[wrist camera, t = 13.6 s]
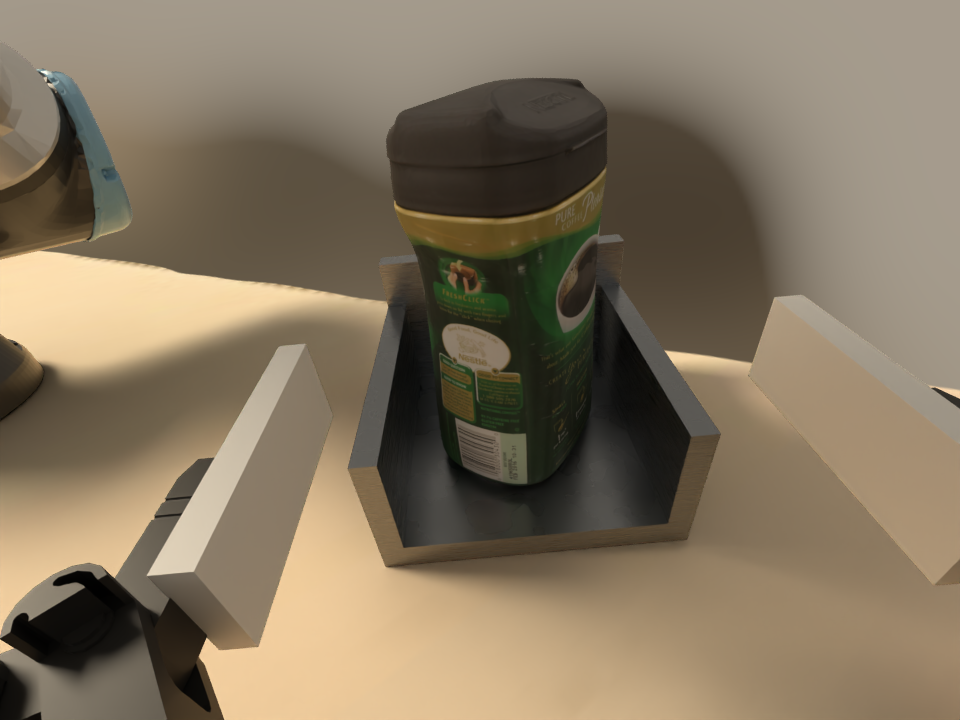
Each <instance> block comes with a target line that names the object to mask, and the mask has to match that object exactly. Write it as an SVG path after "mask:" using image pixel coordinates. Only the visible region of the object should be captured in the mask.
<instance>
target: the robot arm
mask: <svg viewBox="0 0 960 720" xmlns="http://www.w3.org/2000/svg"><path fill="white" fill-rule="evenodd" d="M131 220H132V209H131V205H130V202H129V199H128V196H127V194H126V191H125V188H124V186H123V183H122V181H121V179H120V176H119V174H118V172H117V171H116V170H115V165H114V162H113V160H112V157H111V154H110V152H109V150H108V147H107V145H106V143H105V140H104V138H103V136H102V134H101V132H100V129H99V127H98V125H97V123H96V121H95V119H94V117H93V115H92V113H91V110H90V108H89V106H88V104H87V102H86V100H85V98H84V96H83V95H82V93H81V91H80V89H79V88H78V86H77V84H76V83H75V82H74V81H73V79H72V78H70V77H69V76H67V75H65V74H64V73H61V72H49V71H47V70H44V69H42V70H40V69H35V68H34V67H33V66H32V65H31V63H30V62H29V61H28V60H26V59H25V58H24V57H23V56H22V55H21V54H19V53H18V52H17V51H16V50H14V49H12V48H11V47H9V46H8V45H6V44H5V43H3V42H2V41H0V260H1V259H5V258H9V257H14V256H18V255H22V254H27V253H31V252H35V251H40V250H44V249H48V248H53V247H57V246H61V245H65V244H70V243H74V242H79V241H83V242H90V241H94V240H95V239H97V238H98V237H99V236H103V235H106V234H109V233H113V232H116V231H120V230H123V229H124V228H126V227H127V226H128V225H129V224H130V222H131ZM43 374H44V372H43V368H42V366H41V365H40V364H39V363H38V362H37V360H36V359H35V358H34V357H33V356H32V354H31V353H30V352H29V351H28V350H27V349H26V348H25V347H24V346H22V345H21V344H19V343H17V342H15V341H13V340H9V339H6V338H5V337H4V336H2V335H1V334H0V419H1V418H3V417H4V416H5V415H7V414H8V413H10V412H11V411H12V410H14V409H15V408H16V407H18V406H19V405H20V404H21V403H22V402H24V401H25V400H26V399H27V398H28V397H29V396H30V395H31V394H32V393H33V392H34V391H35V389H36V388H37V387H38V385H39V384H40V382H41V380H42V378H43ZM748 376H749V377H750V378H751V379H752V381H753V382H754V383H755V384H756V385H757V386H758V387H759V388H760V390H761V391H762V392H763V393H764V394H765V395H766V396H767V398H768V399H769V400H770V401H771V402H772V403H773V404H774V405H775V407H776V408H777V409H778V410H779V411H780V412H781V413H782V415H783V416H784V417H785V418H786V419H787V420H788V421H789V422H790V424H791V425H792V426H793V427H794V428H795V429H796V430H797V432H798V433H799V434H800V435H801V436H802V437H803V438H804V439H805V441H806V442H807V443H808V444H809V445H810V446H811V447H812V449H813V450H814V451H815V452H816V453H817V454H818V455H819V456H820V458H821V459H822V460H823V461H824V462H825V463H826V464H827V466H828V467H829V468H830V469H831V470H832V471H833V472H834V473H835V475H836V476H837V477H838V478H839V479H840V480H841V481H842V483H843V484H844V485H845V486H846V487H847V488H848V489H849V490H850V492H851V493H852V494H853V495H854V496H855V497H856V498H857V500H858V501H859V502H860V503H861V504H862V505H863V506H864V507H865V509H866V510H867V511H868V512H869V513H870V514H871V515H872V517H873V518H874V519H875V520H876V521H877V522H878V523H879V524H880V526H881V527H882V528H883V529H884V530H885V531H886V532H887V534H888V535H889V536H890V537H891V538H892V539H893V540H894V541H895V543H896V544H897V545H898V546H899V547H900V548H901V549H902V550H903V552H904V553H905V554H906V555H907V556H908V557H909V558H910V560H911V561H912V562H913V563H914V564H915V565H916V566H917V567H918V569H919V570H920V571H921V572H922V573H923V574H924V575H925V577H926V578H927V579H928V580H929V581H930V582H931V583H932V584H933V586H936V585H947V584H958V583H960V399H959V398H957V397H954V396H952V395H950V394H948V393H946V392H944V391H941V390H939V389H937V388H930V387H929V386H928V385H926V384H925V383H923V382H922V381H921V380H919V379H918V378H916V377H915V376H914V375H912V374H911V373H910V372H908V371H907V370H905V369H904V368H903V367H901V366H900V365H899V364H897V363H896V362H894V361H893V360H892V359H890V358H889V357H887V356H886V355H885V354H883V353H882V352H881V351H879V350H878V349H876V348H875V347H874V346H872V345H871V344H869V343H868V342H867V341H865V340H864V339H863V338H861V337H860V336H858V335H857V334H856V333H854V332H853V331H852V330H850V329H849V328H847V327H846V326H845V325H843V324H842V323H840V322H839V321H838V320H836V319H835V318H834V317H832V316H831V315H830V314H828V313H827V312H825V311H824V310H822V309H821V308H820V307H818V306H817V305H816V304H814V303H813V302H812V301H810V300H809V299H807V298H806V297H804V296H803V295H795V296H785V297H775V298H774V301H773V304H772V307H771V310H770V313H769V316H768V319H767V322H766V325H765V328H764V331H763V333H762V337H761V339H760V342H759V346H758V349H757V351H756V354H755V357H754V360H753V363H752V366H751V369H750V372H749V375H748ZM332 418H333V414H332V411H331V408H330V406H329V403H328V401H327V398H326V395H325V393H324V390H323V387H322V385H321V382H320V379H319V377H318V374H317V371H316V369H315V366H314V363H313V361H312V358H311V355H310V353H309V350H308V347H307V345H306V344H295V345H285V346H279V347H278V349H277V351H276V352H275V354H274V356H273V357H272V359H271V361H270V363H269V364H268V366H267V368H266V370H265V371H264V373H263V375H262V377H261V378H260V380H259V382H258V383H257V385H256V387H255V389H254V390H253V392H252V394H251V396H250V397H249V399H248V401H247V403H246V404H245V406H244V408H243V409H242V411H241V413H240V415H239V416H238V418H237V420H236V422H235V423H234V425H233V427H232V429H231V430H230V432H229V434H228V435H227V437H226V439H225V441H224V442H223V444H222V446H221V448H220V449H219V451H218V453H217V455H216V456H215V458H205V459H198V460H197V461H196V462H195V463H194V464H193V465H192V466H191V467H189V468H188V469H187V470H186V471H185V472H184V473H183V474H182V475H181V476H180V477H179V478H178V479H177V481H176V482H175V484H174V485H173V487H172V489H171V490H170V492H169V493H168V495H167V497H166V498H165V499H166V501H165V502H164V503H162V504H161V506H160V508H159V509H158V511H157V512H156V514H155V515H154V516H155V519H154V520H151V522H150V523H149V525H148V526H147V528H146V530H145V531H144V533H143V534H142V536H141V538H140V539H139V541H138V542H137V544H136V545H135V547H134V549H133V550H132V552H131V553H130V555H129V556H128V558H127V560H126V561H125V563H124V564H123V566H122V568H121V569H120V571H119V572H118V574H117V575H116V577H115V578H113V577H112V576H111V575H110V574H109V573H108V572H107V571H106V570H105V569H104V568H103V567H102V566H100V565H96V564H91V563H86V564H80V565H75V566H71V567H69V568H67V569H64V570H62V571H60V572H58V573H55V574H53V575H52V576H50V577H49V578H47V579H46V580H44V581H43V582H41V583H40V584H38V585H37V586H36V587H34V588H33V589H32V590H31V591H30V592H29V593H28V594H27V595H26V596H25V597H23V598H22V599H21V600H20V601H19V602H18V603H17V604H16V605H15V607H14V608H13V610H12V611H11V613H10V614H9V616H8V617H7V619H6V620H5V622H4V624H3V627H2V631H1V635H0V639H1V640H2V641H4V642H5V643H7V644H9V645H10V646H12V647H13V648H14V649H12V650H9V651H6V652H4V653H1V654H0V720H224V718H223V715H222V712H221V709H220V707H219V704H218V701H217V698H216V696H215V693H214V690H213V687H212V684H211V682H210V679H209V676H208V673H207V671H206V668H205V665H204V663H203V662H202V661H201V660H200V658H199V654H200V652H201V649H202V647H203V645H204V642H205V640H206V637H207V638H208V639H209V640H210V641H211V642H212V643H213V644H214V645H215V646H216V647H217V648H218V649H219V650H228V649H239V648H250V647H258V646H259V643H260V640H261V637H262V634H263V631H264V628H265V625H266V622H267V618H268V615H269V612H270V609H271V606H272V603H273V600H274V597H275V594H276V591H277V588H278V585H279V581H280V578H281V575H282V572H283V569H284V566H285V563H286V560H287V557H288V554H289V551H290V548H291V544H292V541H293V538H294V535H295V532H296V529H297V526H298V523H299V520H300V517H301V514H302V511H303V507H304V504H305V501H306V498H307V495H308V492H309V489H310V486H311V483H312V480H313V477H314V474H315V470H316V467H317V464H318V461H319V458H320V455H321V452H322V449H323V446H324V443H325V440H326V437H327V433H328V430H329V427H330V424H331V421H332Z"/></svg>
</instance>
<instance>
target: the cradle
mask: <svg viewBox="0 0 960 720" xmlns="http://www.w3.org/2000/svg"><path fill="white" fill-rule="evenodd" d="M623 248H624V240H623V239H622V238H621V237H620V236H619V235H618V234H617V235H607V236H599V238H598V250H597V266H596V287H595V309H594V332H593V368H592V372H593V377H592V399H591V409H590V413H589V416H588V419H587V422H586V424H585V427H584V429H583V431H582V433H581V435H580V437H579V438H578V440H577V442H576V444H575V446H574V447H573V449H572V450H571V452H570V453H569V455H568V456H567V457H566V459H565V460H564V462H563V463H562V464H561V465H560V466H559V468H558V469H557V470H556V471H555V472H554V473H553V474H552V475H551V476H549V477H548V478H547V479H546V480H544V481H542V482H539V483H536V484H532V485H524V486H514V485H507V484H502V483H497V482H493V481H490V480H487V479H485V478H482V477H479V476H478V475H476V474H474V473H472V472H470V471H468V470H466V469H465V468H463V467H462V466H460V465H459V464H457V463H456V462H455V461H453V460H452V459H451V458H450V457H449V456H448V454H447V453H446V451H445V449H444V447H443V443H442V438H441V431H440V425H439V416H438V409H437V400H436V389H435V378H434V366H433V357H432V349H431V340H430V332H429V324H428V316H427V309H426V301H425V295H424V288H423V282H422V278H421V272H420V268H419V264H418V260H417V257H416V254H415V255H406V256H395V257H386V258H381V260H380V263H379V269H380V274H381V278H382V282H383V286H384V291H385V295H386V299H387V304H388V311H387V315H386V319H385V323H384V327H383V331H382V335H381V339H380V343H379V347H378V351H377V355H376V359H375V363H374V367H373V371H372V375H371V379H370V383H369V387H368V390H367V394H366V398H365V402H364V406H363V410H362V414H361V418H360V422H359V426H358V430H357V434H356V438H355V442H354V446H353V450H352V454H351V458H350V462H349V466H348V471H349V473H350V476H351V478H352V481H353V484H354V486H355V489H356V491H357V494H358V496H359V499H360V502H361V504H362V507H363V509H364V512H365V515H366V517H367V520H368V522H369V525H370V528H371V530H372V533H373V535H374V538H375V541H376V543H377V546H378V548H379V551H380V553H381V556H382V559H383V561H384V564H385V566H386V567H387V566H398V565H409V564H420V563H431V562H442V561H453V560H464V559H475V558H486V557H497V556H508V555H519V554H530V553H541V552H552V551H563V550H574V549H585V548H596V547H607V546H618V545H630V544H641V543H652V542H663V541H674V540H685V539H687V537H688V534H689V531H690V528H691V525H692V522H693V519H694V516H695V513H696V509H697V506H698V503H699V500H700V497H701V494H702V491H703V488H704V484H705V481H706V478H707V475H708V472H709V469H710V466H711V463H712V460H713V456H714V453H715V450H716V447H717V444H718V441H719V438H720V435H721V434H720V432H719V431H718V429H717V428H716V426H715V425H714V423H713V422H712V420H711V419H710V417H709V416H708V414H707V413H706V411H705V410H704V409H703V407H702V406H701V404H700V403H699V401H698V400H697V398H696V397H695V395H694V394H693V392H692V391H691V389H690V388H689V386H688V385H687V383H686V382H685V381H684V379H683V378H682V376H681V375H680V373H679V372H678V370H677V369H676V367H675V366H674V364H673V363H672V361H671V360H670V358H669V357H668V355H667V354H666V353H665V351H664V350H663V348H662V347H661V345H660V344H659V342H658V341H657V339H656V338H655V336H654V335H653V334H652V332H651V330H650V329H649V328H648V326H647V325H646V323H645V322H644V320H643V319H642V318H641V316H640V314H639V313H638V311H637V310H636V309H635V307H634V305H633V304H632V302H631V301H630V299H629V298H628V297H627V295H626V294H625V292H624V291H623V289H622V288H621V286H620V276H621V267H622V256H623Z"/></svg>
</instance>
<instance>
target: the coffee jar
mask: <svg viewBox="0 0 960 720" xmlns="http://www.w3.org/2000/svg"><path fill="white" fill-rule="evenodd" d="M386 144H387V156H388V158H389V159H390V167H391V180H392V187H393V197H394V200H395V210H396V213H397V216H398V219H399V221H400V223H401V225H402V227H403V229H404V231H405V233H406V235H407V236H408V238H409V240H410V241H411V243H412V246H413V248H414V251H415V253H416V257H417V260H418V264H419V268H420V272H421V278H422V282H423V288H424V295H425V301H426V309H427V316H428V324H429V332H430V340H431V349H432V357H433V366H434V378H435V389H436V400H437V409H438V416H439V425H440V431H441V438H442V443H443V447H444V449H445V451H446V453H447V454H448V456H449V457H450V458H451V459H452V460H453V461H455V462H456V463H457V464H459V465H460V466H462V467H463V468H465V469H466V470H468V471H470V472H472V473H474V474H476V475H478V476H479V477H482V478H485V479H487V480H490V481H493V482H497V483H502V484H507V485H514V486H524V485H532V484H536V483H539V482H542V481H544V480H546V479H547V478H548V477H549V476H551V475H552V474H553V473H554V472H555V471H556V470H557V469H558V468H559V466H560V465H561V464H562V463H563V462H564V460H565V459H566V457H567V456H568V455H569V453H570V452H571V450H572V449H573V447H574V446H575V444H576V442H577V440H578V438H579V437H580V435H581V433H582V431H583V429H584V427H585V424H586V422H587V419H588V416H589V413H590V409H591V399H592V377H593V372H592V368H593V332H594V309H595V287H596V266H597V250H598V238H599V228H600V218H601V210H602V202H603V194H604V186H605V177H606V164H607V112H606V109H605V107H604V105H603V104H602V102H601V101H600V100H599V99H598V98H597V97H596V96H595V95H593V94H592V93H591V92H589V91H588V90H587V89H585V87H584V86H583V84H582V83H581V82H580V81H579V80H576V79H556V78H524V79H523V78H522V79H508V80H499V81H493V82H489V83H485V84H482V85H478V86H475V87H471V88H469V89H466V90H463V91H460V92H457V93H454V94H451V95H448V96H445V97H442V98H439V99H436V100H433V101H430V102H427V103H424V104H422V105H419V106H416V107H413V108H410V109H407V110H404V111H402V112H401V113H399V115H398V116H397V118H396V121H395V124H394V125H393V126H392V128H391V129H390V130H389V132H388V135H387V139H386Z"/></svg>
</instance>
